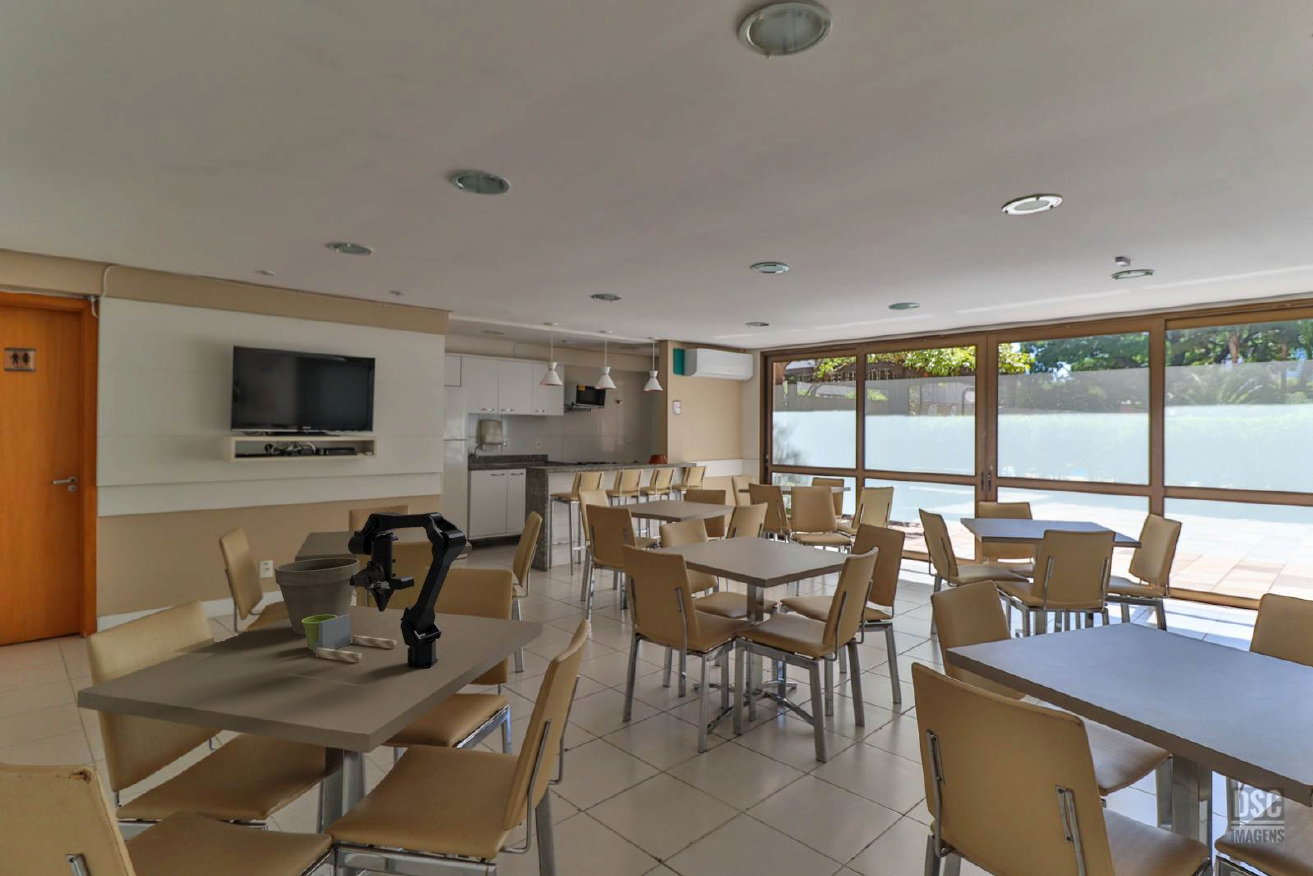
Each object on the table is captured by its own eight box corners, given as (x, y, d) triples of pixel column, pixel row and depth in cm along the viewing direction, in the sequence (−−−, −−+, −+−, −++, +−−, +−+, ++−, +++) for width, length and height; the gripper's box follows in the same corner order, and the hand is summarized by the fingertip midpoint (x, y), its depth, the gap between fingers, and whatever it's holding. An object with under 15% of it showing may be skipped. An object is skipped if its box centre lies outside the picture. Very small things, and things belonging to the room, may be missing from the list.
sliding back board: (350, 644, 198) (350, 614, 198) (322, 654, 189) (322, 622, 189) (341, 643, 199) (341, 613, 199) (313, 652, 190) (313, 621, 190)
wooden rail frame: (397, 648, 194) (397, 640, 194) (358, 663, 181) (358, 654, 181) (355, 643, 200) (355, 635, 200) (315, 657, 187) (315, 648, 187)
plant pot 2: (325, 652, 191) (325, 622, 191) (294, 652, 192) (294, 622, 192) (343, 643, 200) (343, 614, 200) (313, 642, 201) (313, 614, 201)
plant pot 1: (255, 638, 206) (256, 569, 206) (308, 618, 230) (308, 556, 230) (329, 641, 202) (329, 571, 202) (374, 620, 226) (374, 557, 227)
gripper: (333, 559, 183) (333, 615, 182) (386, 563, 176) (386, 621, 176) (364, 553, 193) (364, 606, 193) (415, 556, 186) (415, 611, 186)
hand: (381, 611), depth 186 cm, fingers closed
